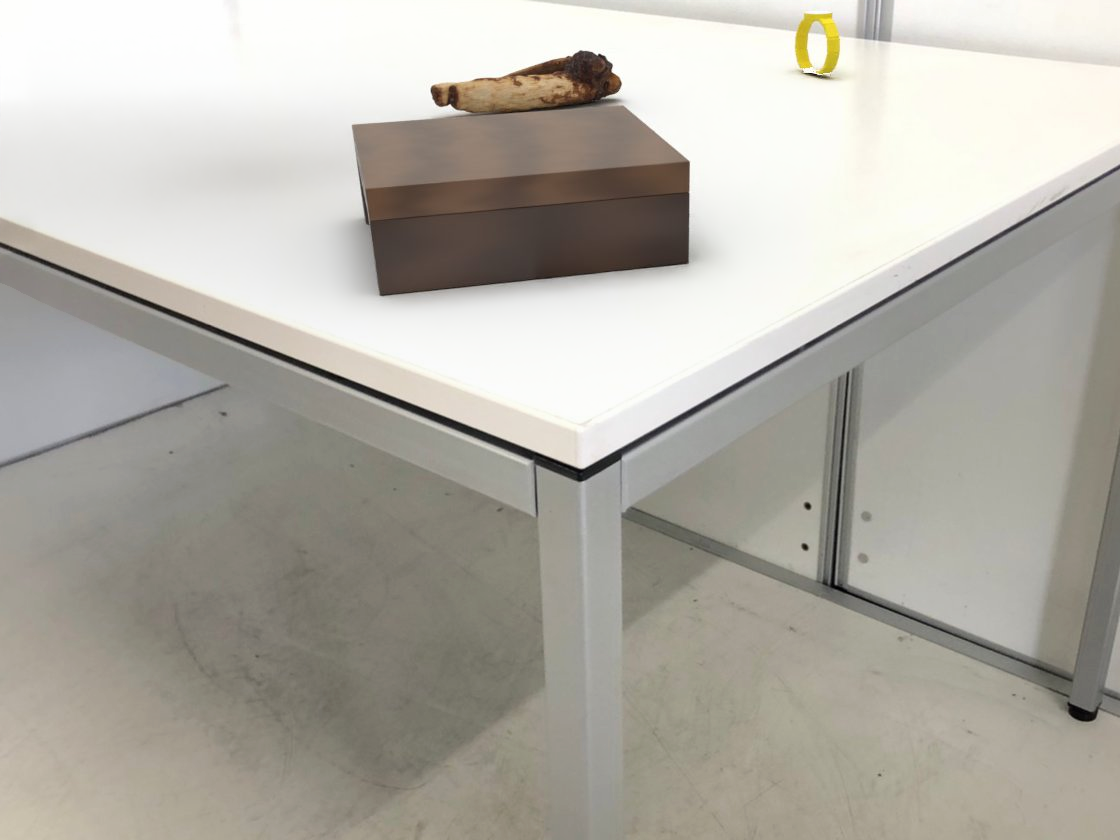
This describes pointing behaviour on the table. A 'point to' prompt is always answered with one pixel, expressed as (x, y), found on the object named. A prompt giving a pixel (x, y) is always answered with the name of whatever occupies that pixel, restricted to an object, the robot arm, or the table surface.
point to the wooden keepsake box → (519, 197)
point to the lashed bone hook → (534, 86)
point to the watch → (831, 36)
